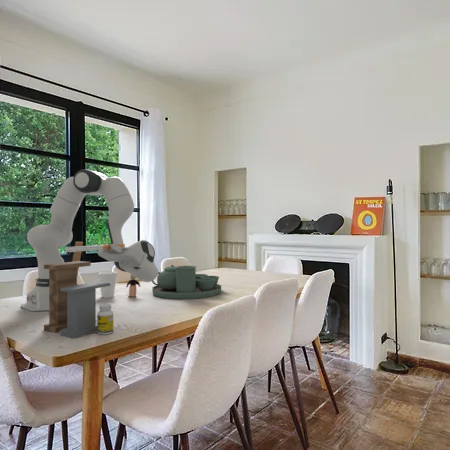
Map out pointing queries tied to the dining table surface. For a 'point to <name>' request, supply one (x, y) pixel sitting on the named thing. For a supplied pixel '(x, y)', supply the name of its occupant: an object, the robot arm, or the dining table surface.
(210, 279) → the tea set
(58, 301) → the tall stand
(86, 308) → the rack
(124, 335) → the dining table surface
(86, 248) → the wooden handled knife
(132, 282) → the grandmother figurine
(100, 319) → the supplement bottle
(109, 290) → the foam cup
